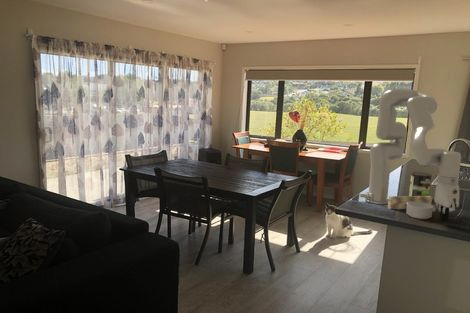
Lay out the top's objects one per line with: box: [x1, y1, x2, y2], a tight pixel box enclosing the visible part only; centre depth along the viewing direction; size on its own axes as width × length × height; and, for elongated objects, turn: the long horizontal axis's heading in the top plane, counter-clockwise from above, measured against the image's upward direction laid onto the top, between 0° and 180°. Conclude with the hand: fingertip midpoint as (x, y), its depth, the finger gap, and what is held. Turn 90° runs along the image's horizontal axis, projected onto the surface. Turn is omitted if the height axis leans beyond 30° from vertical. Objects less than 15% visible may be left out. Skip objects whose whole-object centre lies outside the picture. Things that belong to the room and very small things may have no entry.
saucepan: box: [406, 202, 447, 220], centre depth 170 cm, size 12×20×6 cm, turn 63°
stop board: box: [387, 195, 433, 210], centre depth 184 cm, size 22×2×6 cm, turn 97°
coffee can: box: [408, 171, 433, 196], centre depth 204 cm, size 10×10×14 cm
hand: (443, 221), depth 160 cm, fingers closed
